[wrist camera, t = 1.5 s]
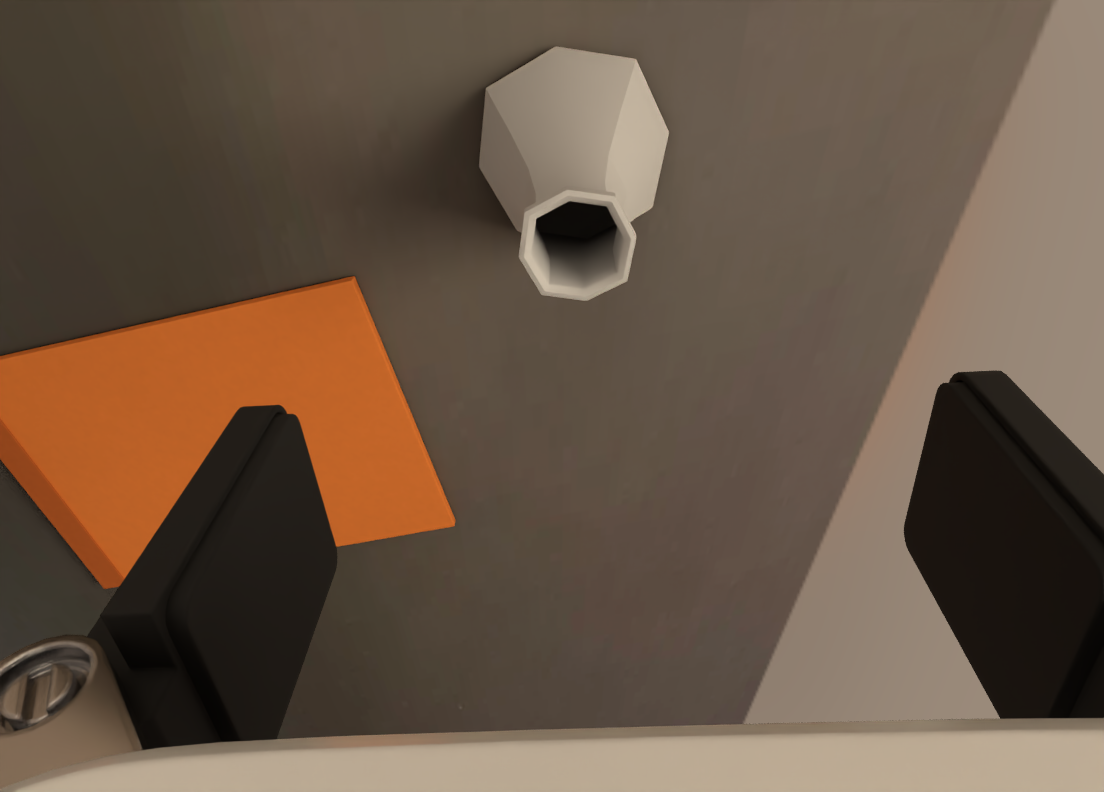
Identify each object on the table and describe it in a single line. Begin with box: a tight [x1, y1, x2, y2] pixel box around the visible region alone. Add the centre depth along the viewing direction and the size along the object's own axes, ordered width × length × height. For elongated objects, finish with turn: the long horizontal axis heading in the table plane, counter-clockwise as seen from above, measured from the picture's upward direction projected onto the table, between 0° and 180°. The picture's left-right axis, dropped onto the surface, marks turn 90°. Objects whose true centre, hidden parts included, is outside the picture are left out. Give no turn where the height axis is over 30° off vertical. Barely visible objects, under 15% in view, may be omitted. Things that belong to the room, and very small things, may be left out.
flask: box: [479, 47, 669, 301], centre depth 24 cm, size 7×7×10 cm
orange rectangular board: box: [0, 276, 455, 589], centre depth 36 cm, size 14×20×1 cm
